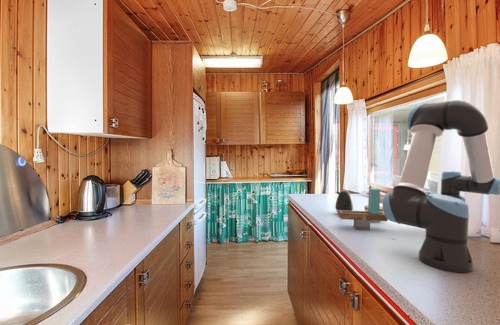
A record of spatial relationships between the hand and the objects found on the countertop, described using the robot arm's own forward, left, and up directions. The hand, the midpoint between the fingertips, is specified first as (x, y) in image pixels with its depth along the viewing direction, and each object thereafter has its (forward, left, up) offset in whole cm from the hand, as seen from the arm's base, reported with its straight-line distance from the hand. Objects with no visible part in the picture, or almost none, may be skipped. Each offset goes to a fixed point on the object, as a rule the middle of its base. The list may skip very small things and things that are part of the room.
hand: (378, 200), depth 132 cm
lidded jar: (+16, -4, -15) cm, 22 cm away
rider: (-1, +2, -9) cm, 9 cm away
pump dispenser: (+28, +10, -15) cm, 33 cm away
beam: (-1, +8, -15) cm, 16 cm away
